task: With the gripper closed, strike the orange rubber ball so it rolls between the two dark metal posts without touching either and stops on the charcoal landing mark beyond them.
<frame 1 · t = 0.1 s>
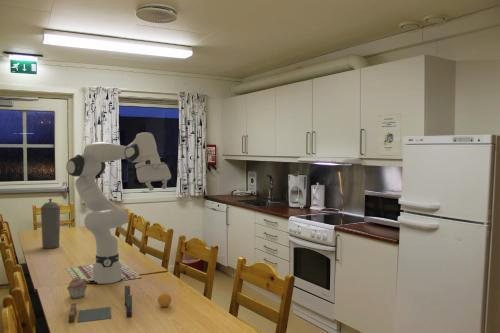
hand: (158, 189, 208), 52 cm above the table, tool tilted 20°, fingers open, 8 cm apart
ball: (164, 300, 192), on the table
stopper wall: (72, 316, 181), on the table
canister: (51, 247, 302), on the table
cupcake: (77, 296, 204), on the table
landing mark: (94, 314, 183), on the table
left post: (129, 316, 181), on the table
right post: (127, 305, 193), on the table
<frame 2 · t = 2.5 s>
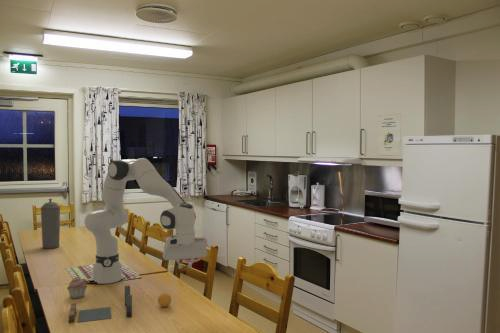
hand: (185, 267, 195), 17 cm above the table, tool pointing down, fingers open, 3 cm apart
nothing on the table moved.
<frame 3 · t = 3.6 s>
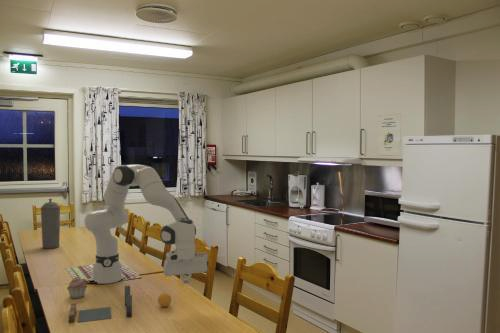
hand: (185, 283, 195), 10 cm above the table, tool pointing down, fingers closed
nothing on the table moved.
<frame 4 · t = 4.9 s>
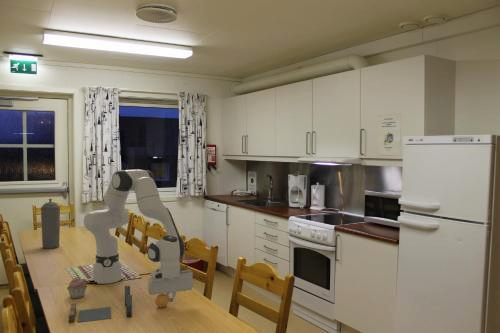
hand: (170, 301, 193), 2 cm above the table, tool pointing down, fingers closed
ball: (162, 300, 192), on the table, touching gripper
everything else where it was.
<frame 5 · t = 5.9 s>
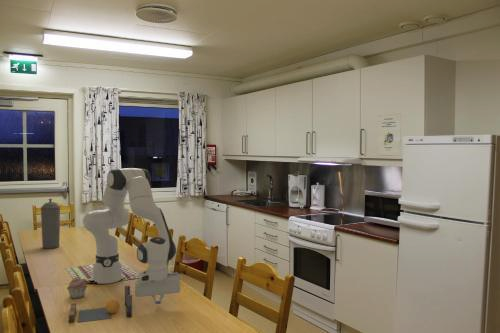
hand: (157, 303, 191), 2 cm above the table, tool pointing down, fingers closed
ball: (112, 306, 184), on the table
everything else where it was.
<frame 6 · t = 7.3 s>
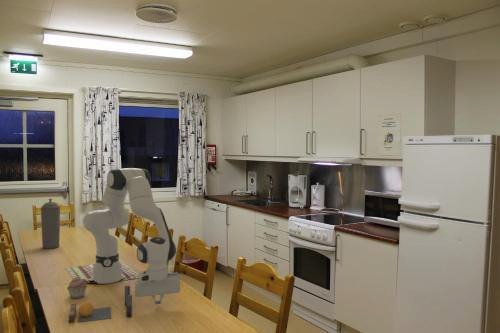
hand: (157, 303, 191), 2 cm above the table, tool pointing down, fingers closed
ball: (85, 309, 180), on the table
everything else where it was.
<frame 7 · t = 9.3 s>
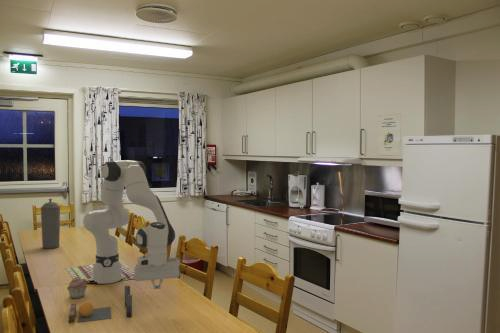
hand: (156, 288, 191), 9 cm above the table, tool pointing down, fingers closed
nothing on the table moved.
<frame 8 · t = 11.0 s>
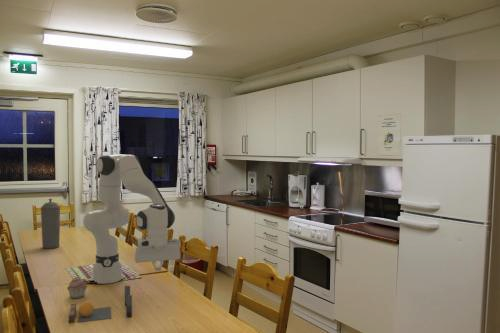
hand: (157, 270, 191), 17 cm above the table, tool pointing down, fingers closed
nothing on the table moved.
at the end: ball 3.7 cm from the landing mark (horizontally); ball never touched left post; ball never touched right post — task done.
